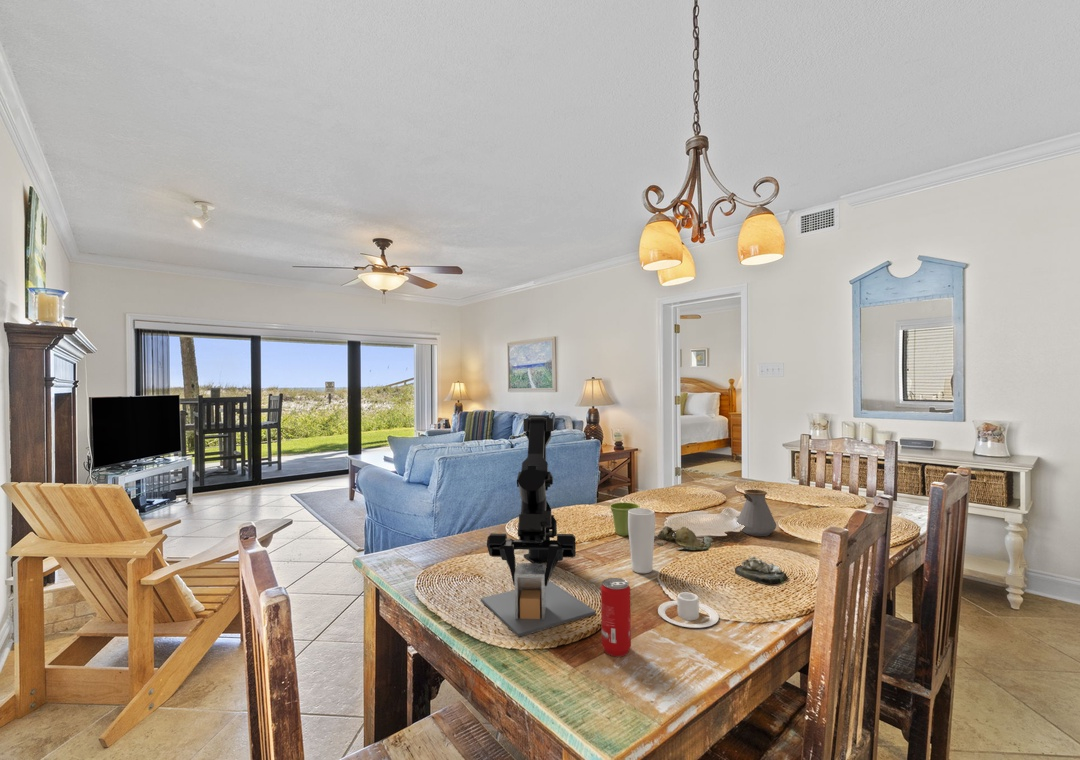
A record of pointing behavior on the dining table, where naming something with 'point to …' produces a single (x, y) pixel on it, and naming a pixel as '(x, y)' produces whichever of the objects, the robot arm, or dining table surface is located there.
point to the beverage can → (615, 616)
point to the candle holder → (688, 610)
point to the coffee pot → (756, 514)
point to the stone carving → (761, 572)
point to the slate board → (557, 610)
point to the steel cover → (530, 583)
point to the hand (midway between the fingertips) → (530, 585)
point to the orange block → (530, 604)
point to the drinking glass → (641, 539)
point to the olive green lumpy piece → (683, 538)
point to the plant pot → (621, 516)
